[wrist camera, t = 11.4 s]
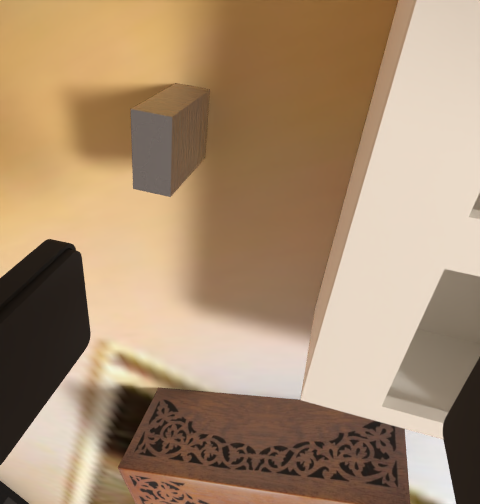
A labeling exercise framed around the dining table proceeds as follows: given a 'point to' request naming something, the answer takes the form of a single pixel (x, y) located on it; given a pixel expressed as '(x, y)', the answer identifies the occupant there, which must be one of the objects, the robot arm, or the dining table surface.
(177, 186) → the brushed metal block
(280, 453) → the tissue box cover
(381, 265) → the white rectangular block
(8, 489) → the digital camera
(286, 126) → the dining table surface
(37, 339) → the robot arm
